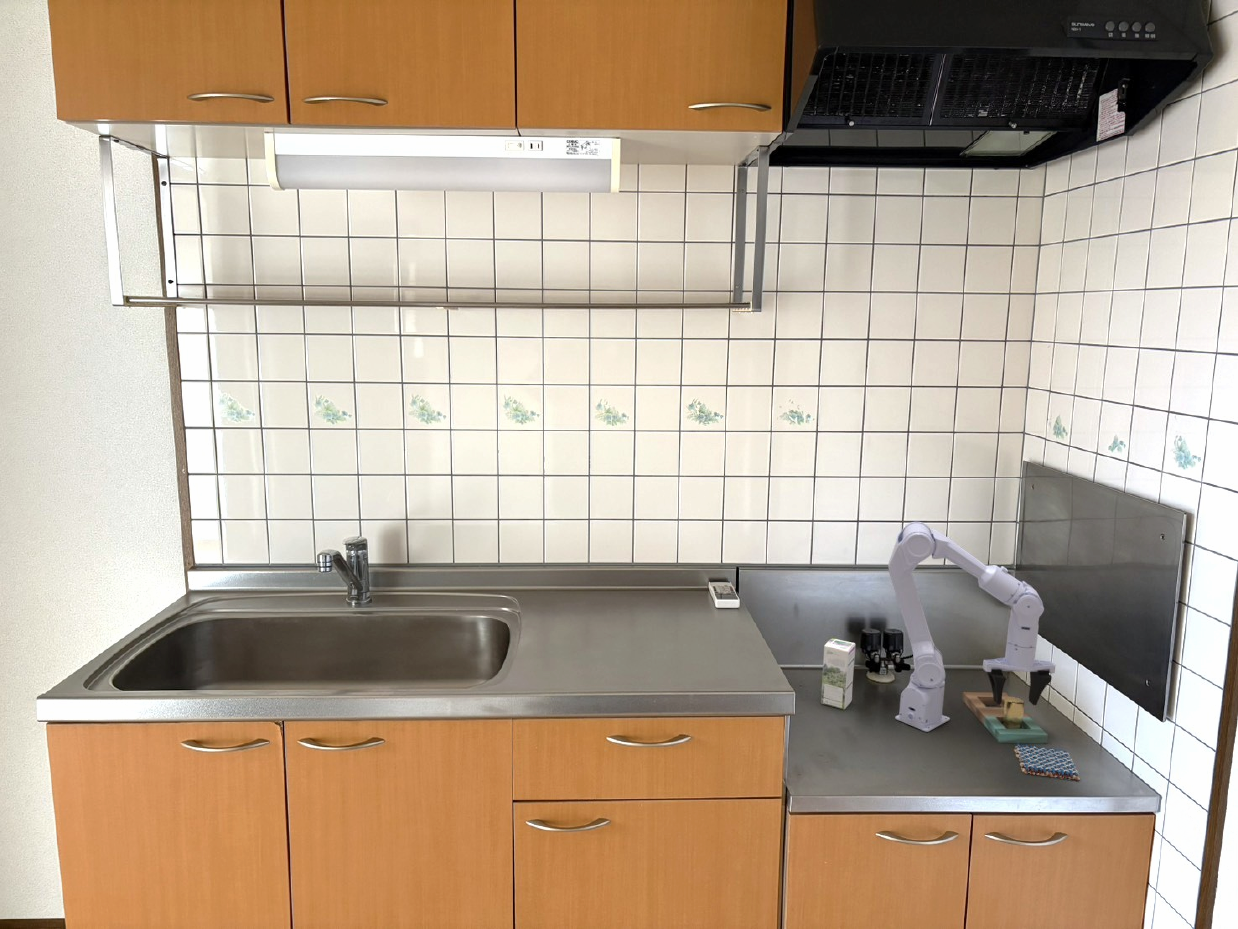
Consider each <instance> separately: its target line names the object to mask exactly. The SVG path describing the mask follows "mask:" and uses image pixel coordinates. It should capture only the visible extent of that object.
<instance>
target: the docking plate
mask: <svg viewBox="0 0 1238 929" xmlns="http://www.w3.org/2000/svg"><path fill="white" fill-rule="evenodd" d="M1006 697H1010V695H1008V693H1007V692H1002V701H1001V704H997V703H996V702H995V701H994V699H993V692H983V691H982V692H975V691H972V692H971V691H963V692H962V698H961V700H962V701H963V703H964V704H965V705H966V707H968V708H969V710H970V711H971V712H972V713H973V714H974V716H975V717H976V718H977V719H978V720H979V721H980V722H981V724H982V725H983V726H984V727H985V728H986V730H988V732H989V734H991V735H992V736H993V737H994V739H995V740H996V741H997V742H998V743H999V744H1000V743H1001V744H1003V743H1005V744H1044V743H1048V733H1047V732H1046V731H1045V730H1044V729H1042V728H1041V727H1040V726H1039V724H1038V723H1037V722H1035V720H1034V719H1032V718H1031V716H1029V714H1028V713H1027V712H1026V711H1023V720H1022V729H1006V728H1005V727H1004V726H1003V725H1002V724H1003V714H1004V704H1005V698H1006ZM987 706H989V707H987ZM991 706H993V707H991ZM994 706H1000V707H994Z"/></svg>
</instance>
